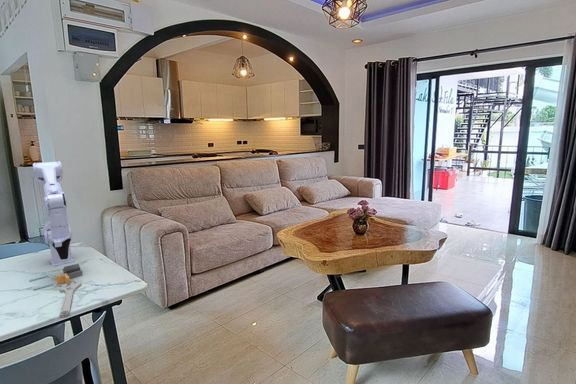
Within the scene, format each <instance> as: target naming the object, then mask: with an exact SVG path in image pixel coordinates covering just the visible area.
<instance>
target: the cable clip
mask: <svg viewBox="0 0 576 384" xmlns="http://www.w3.org/2000/svg"><path fill="white" fill-rule="evenodd" d="M62 271H63V273H62V274H65V272H64V267H63V268H62ZM67 275H68V276H69V278H70V280H72V279H76V278H79V277H83V270H82V269H80V270H79V271H75V272H72V273H68V274H67Z"/></svg>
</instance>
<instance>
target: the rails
mask: <svg viewBox="0 0 576 384" xmlns="http://www.w3.org/2000/svg"><path fill="white" fill-rule="evenodd" d="M46 278H49V275H48V274H47V275H46V274H45V275H43V276H38V277H35V278H32V279H31V278H30V279H29V280H28V281H29V283H31V282H35V281H38V280H42V279H46ZM53 286H54V282H53V283H49V284H46V285H42V286H38V287H34V288H33V289H32V290H33V291H35V292H36V291H38V290H42V289H45V288H48V287H53Z"/></svg>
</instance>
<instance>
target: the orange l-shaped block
mask: <svg viewBox="0 0 576 384" xmlns="http://www.w3.org/2000/svg"><path fill="white" fill-rule="evenodd" d="M55 282H56V285H61V284H67V285H68V286H71V279H70V278H69V276H68V275H67V273H65V274H64V273H61V274H58V275H55Z"/></svg>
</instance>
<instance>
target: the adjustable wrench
mask: <svg viewBox="0 0 576 384" xmlns="http://www.w3.org/2000/svg"><path fill="white" fill-rule="evenodd" d="M73 283H74V284H70V285H67V284H66V283H63V284H62V285H61V286H60V288H59V293H61V294H62V293H64V298H63V301H62V304H61V308H60V311H59V313H58V314H59V317H60V318H62V319H64V318H66V317H69V316H70V313H71V309H72V304H73V299H74V293H75V292H76V291H77V290H78V289H80V288H81V287H82V282H81V280H74V281H73Z"/></svg>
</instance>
